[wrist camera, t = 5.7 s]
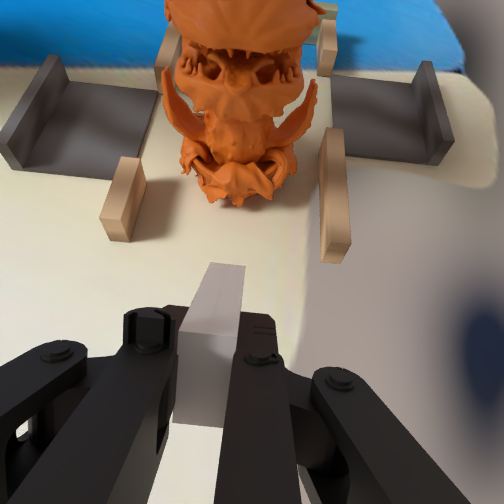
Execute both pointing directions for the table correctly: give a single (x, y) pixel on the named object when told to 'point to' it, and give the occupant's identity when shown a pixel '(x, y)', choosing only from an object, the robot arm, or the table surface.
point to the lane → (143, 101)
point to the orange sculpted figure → (239, 91)
